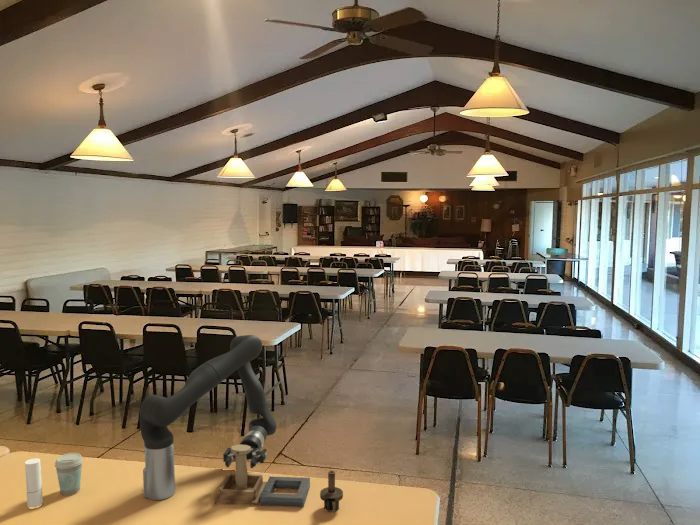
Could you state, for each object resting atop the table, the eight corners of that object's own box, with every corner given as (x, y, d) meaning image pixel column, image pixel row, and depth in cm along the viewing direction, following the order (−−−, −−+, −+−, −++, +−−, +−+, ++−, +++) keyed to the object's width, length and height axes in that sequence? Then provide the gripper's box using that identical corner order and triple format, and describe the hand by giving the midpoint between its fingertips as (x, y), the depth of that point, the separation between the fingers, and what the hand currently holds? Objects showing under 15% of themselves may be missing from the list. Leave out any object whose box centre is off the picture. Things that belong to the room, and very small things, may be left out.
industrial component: (340, 515, 182) (340, 478, 181) (317, 513, 183) (317, 476, 182) (345, 500, 191) (345, 465, 190) (324, 498, 192) (323, 463, 191)
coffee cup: (50, 495, 195) (48, 460, 193) (71, 483, 203) (69, 450, 201) (69, 500, 191) (67, 464, 190) (90, 488, 199) (88, 454, 198)
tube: (45, 504, 189) (43, 459, 187) (34, 510, 185) (32, 465, 183) (35, 501, 190) (33, 457, 189) (24, 508, 186) (21, 463, 185)
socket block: (260, 505, 188) (260, 496, 187) (269, 484, 202) (269, 476, 201) (303, 507, 187) (303, 498, 186) (310, 486, 200) (310, 477, 200)
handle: (247, 495, 192) (246, 451, 191) (229, 493, 194) (228, 449, 192) (253, 488, 197) (252, 445, 195) (236, 486, 198) (235, 443, 197)
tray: (214, 503, 189) (214, 491, 188) (227, 483, 203) (227, 472, 202) (257, 505, 188) (257, 493, 187) (267, 484, 202) (266, 473, 201)
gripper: (231, 433, 209) (217, 453, 192) (271, 435, 207) (260, 454, 191) (232, 454, 209) (218, 475, 193) (271, 455, 208) (260, 476, 192)
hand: (239, 465), depth 192 cm, fingers open, 7 cm apart
